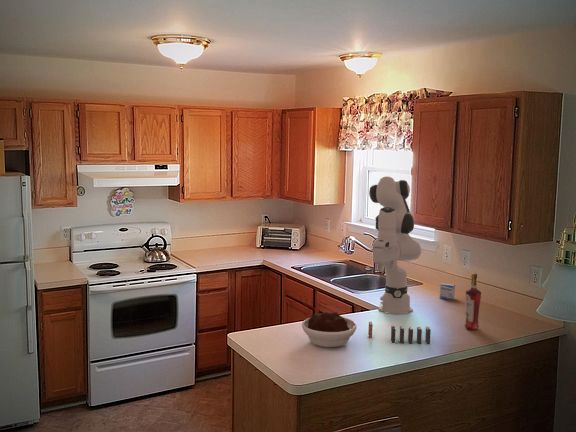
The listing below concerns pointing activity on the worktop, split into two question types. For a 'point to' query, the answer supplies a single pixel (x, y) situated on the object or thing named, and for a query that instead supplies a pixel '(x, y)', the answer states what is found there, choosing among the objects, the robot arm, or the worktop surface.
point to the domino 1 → (370, 329)
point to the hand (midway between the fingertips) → (386, 270)
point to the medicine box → (447, 291)
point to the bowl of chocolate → (328, 329)
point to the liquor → (472, 305)
